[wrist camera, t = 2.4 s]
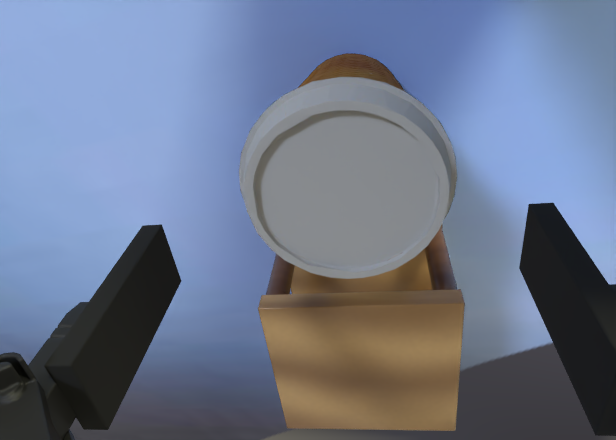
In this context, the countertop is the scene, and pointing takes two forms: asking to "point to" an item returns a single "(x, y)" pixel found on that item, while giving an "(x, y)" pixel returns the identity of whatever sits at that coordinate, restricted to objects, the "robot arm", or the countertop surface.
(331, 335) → the oak rack
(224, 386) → the countertop surface
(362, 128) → the disposable coffee cup
